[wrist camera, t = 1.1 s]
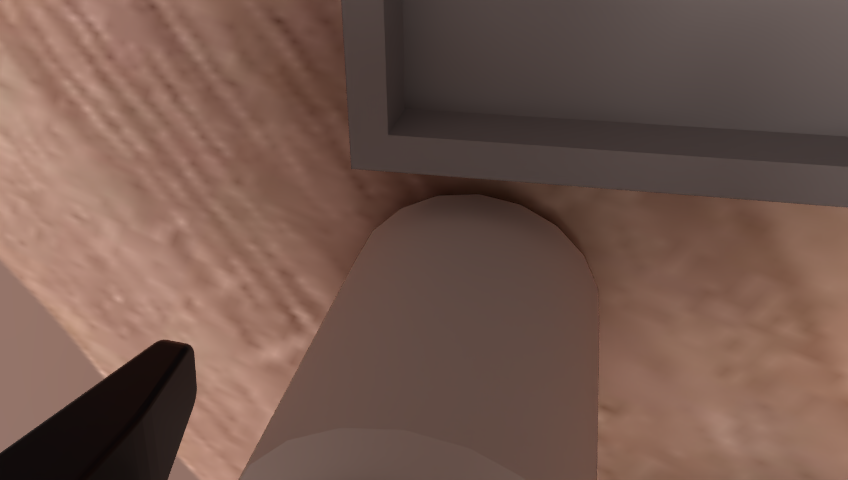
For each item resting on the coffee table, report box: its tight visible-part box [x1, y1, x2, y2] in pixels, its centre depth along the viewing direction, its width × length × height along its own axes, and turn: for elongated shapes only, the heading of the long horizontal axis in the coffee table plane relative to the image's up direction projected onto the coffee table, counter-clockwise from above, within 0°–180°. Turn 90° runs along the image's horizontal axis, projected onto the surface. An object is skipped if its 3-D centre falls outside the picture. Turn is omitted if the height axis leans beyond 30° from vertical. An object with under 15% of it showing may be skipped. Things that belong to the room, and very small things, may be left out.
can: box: [239, 194, 599, 480], centre depth 19 cm, size 8×8×12 cm
